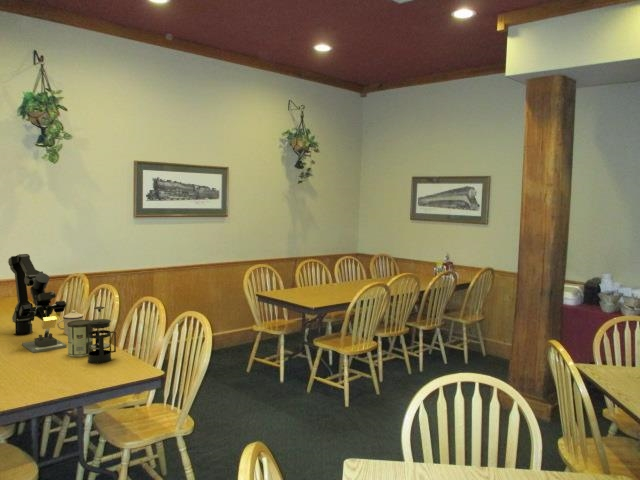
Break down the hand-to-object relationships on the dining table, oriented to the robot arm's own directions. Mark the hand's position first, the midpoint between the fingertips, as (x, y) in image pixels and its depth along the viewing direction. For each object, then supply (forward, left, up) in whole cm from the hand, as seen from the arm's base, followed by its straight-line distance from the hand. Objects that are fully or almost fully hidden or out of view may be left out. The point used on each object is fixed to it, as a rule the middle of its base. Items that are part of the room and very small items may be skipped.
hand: (47, 323), depth 241 cm
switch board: (-3, +4, -12) cm, 13 cm away
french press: (+29, -17, -12) cm, 36 cm away
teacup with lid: (-1, +28, -12) cm, 30 cm away
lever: (-2, +2, -7) cm, 8 cm away
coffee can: (+17, -7, -12) cm, 22 cm away
